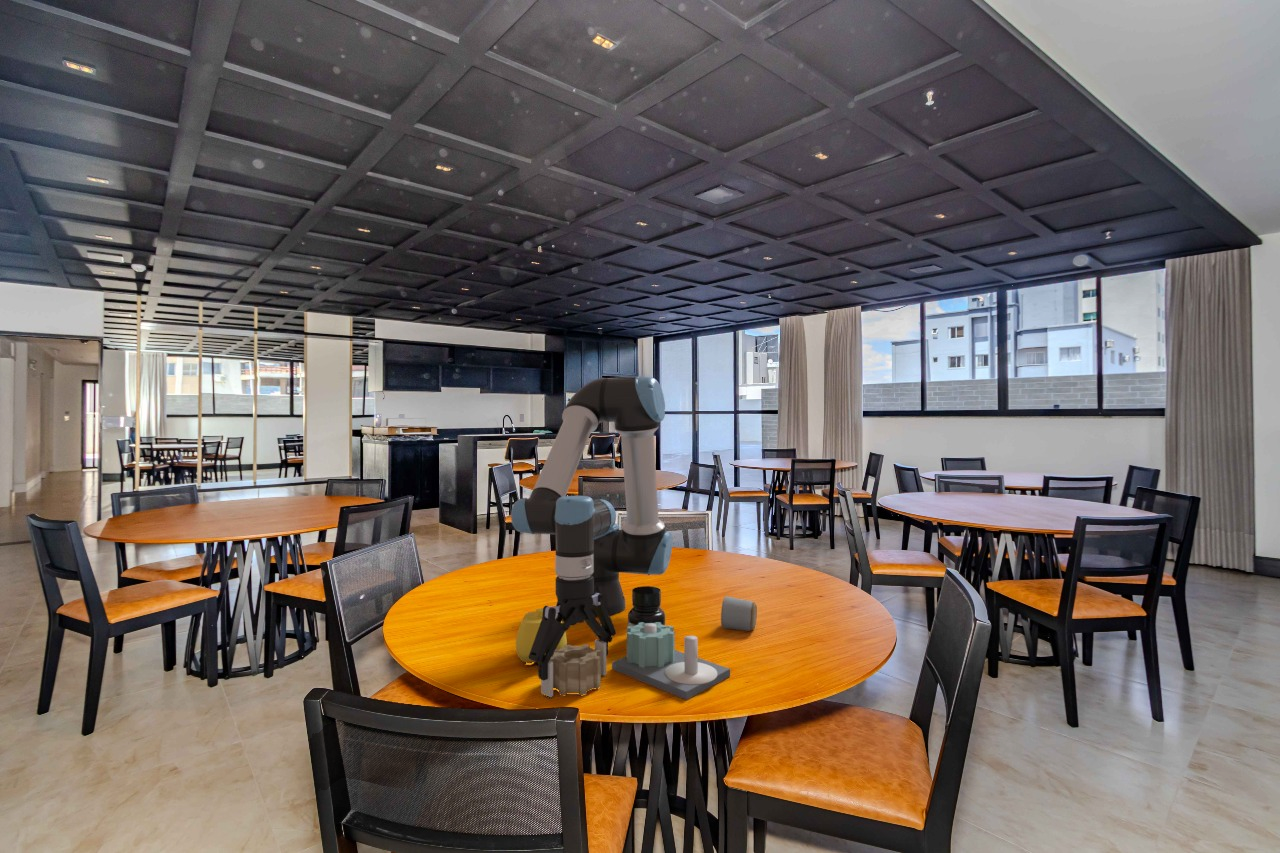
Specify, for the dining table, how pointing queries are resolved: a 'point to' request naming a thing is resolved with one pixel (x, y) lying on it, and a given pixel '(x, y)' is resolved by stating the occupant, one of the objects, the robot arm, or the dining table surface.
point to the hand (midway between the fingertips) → (574, 684)
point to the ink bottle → (646, 606)
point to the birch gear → (576, 669)
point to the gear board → (664, 681)
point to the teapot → (531, 635)
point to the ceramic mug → (738, 614)
